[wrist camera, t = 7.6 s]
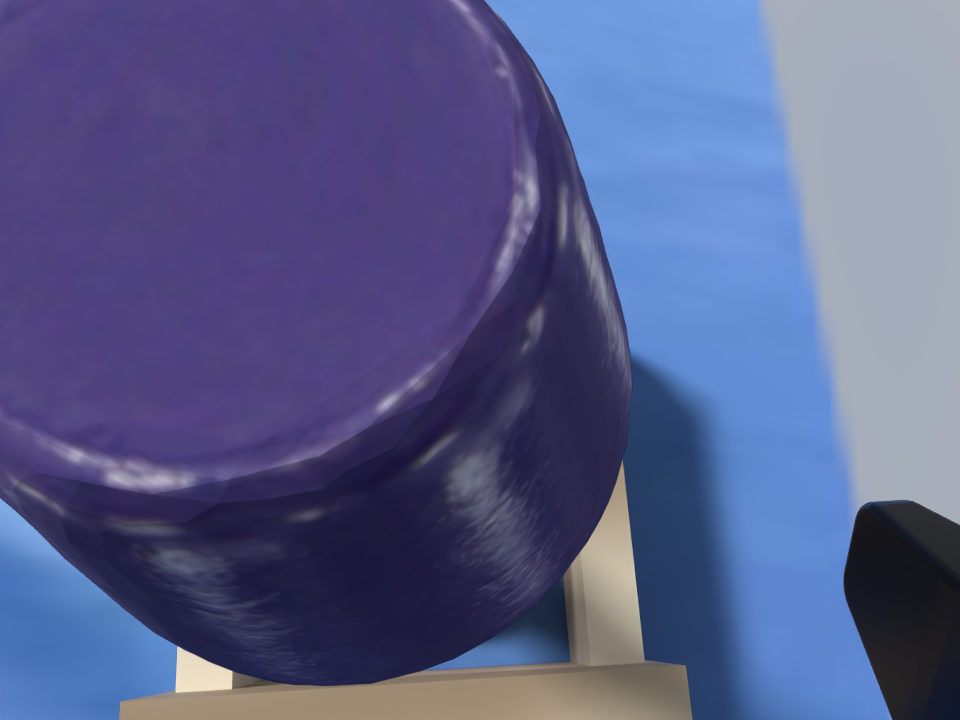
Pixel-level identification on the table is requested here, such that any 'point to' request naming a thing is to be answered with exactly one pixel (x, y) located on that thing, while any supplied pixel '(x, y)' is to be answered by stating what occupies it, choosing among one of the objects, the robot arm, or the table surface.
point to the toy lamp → (301, 324)
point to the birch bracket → (481, 690)
